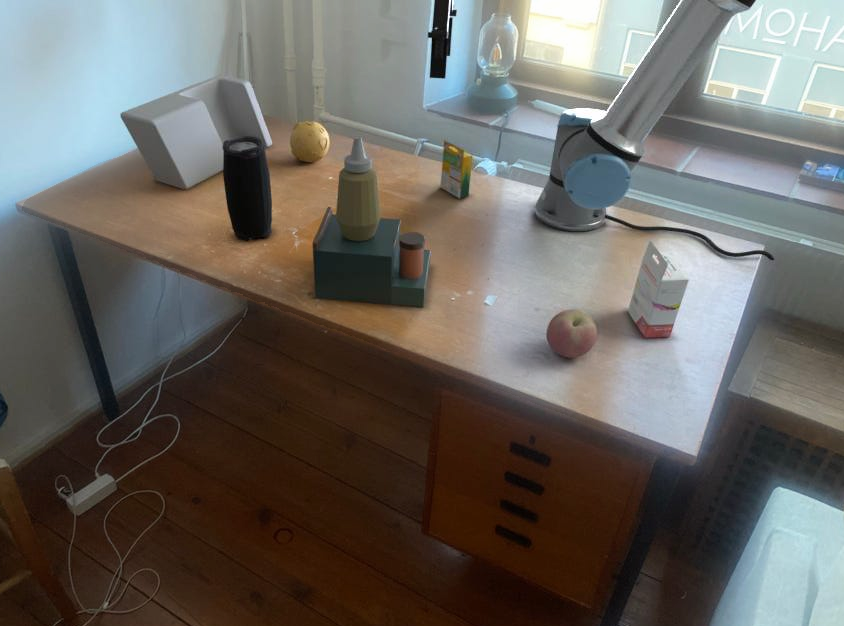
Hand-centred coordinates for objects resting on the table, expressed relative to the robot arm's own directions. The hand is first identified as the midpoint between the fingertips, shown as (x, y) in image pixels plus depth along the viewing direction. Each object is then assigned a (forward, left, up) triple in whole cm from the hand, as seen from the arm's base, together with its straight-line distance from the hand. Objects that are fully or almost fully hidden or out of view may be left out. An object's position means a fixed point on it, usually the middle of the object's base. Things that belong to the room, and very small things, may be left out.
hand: (440, 66), depth 127 cm
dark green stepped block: (+9, +19, -35) cm, 41 cm away
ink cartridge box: (-41, +25, -35) cm, 59 cm away
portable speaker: (+37, +4, -35) cm, 51 cm away
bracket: (+57, -27, -35) cm, 72 cm away
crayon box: (-4, -23, -35) cm, 42 cm away
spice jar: (+2, +21, -31) cm, 37 cm away
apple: (-26, +36, -35) cm, 56 cm away
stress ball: (+33, -35, -35) cm, 59 cm away
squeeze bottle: (+12, +19, -25) cm, 34 cm away
